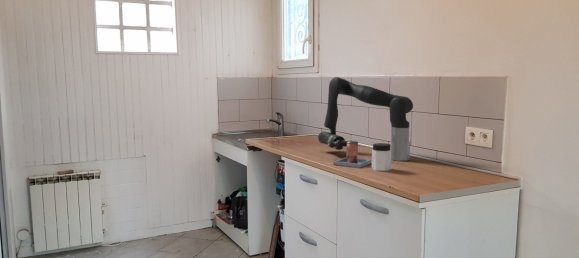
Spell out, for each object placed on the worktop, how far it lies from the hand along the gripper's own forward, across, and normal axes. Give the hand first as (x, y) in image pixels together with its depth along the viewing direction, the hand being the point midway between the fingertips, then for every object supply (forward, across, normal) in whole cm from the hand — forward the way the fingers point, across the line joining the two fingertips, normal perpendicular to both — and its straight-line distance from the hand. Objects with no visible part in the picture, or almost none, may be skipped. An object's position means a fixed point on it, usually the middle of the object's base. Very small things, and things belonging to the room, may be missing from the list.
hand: (346, 146), depth 228 cm
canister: (+8, 0, +8) cm, 11 cm away
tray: (+8, 0, +8) cm, 11 cm away
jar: (+24, +8, +8) cm, 26 cm away
